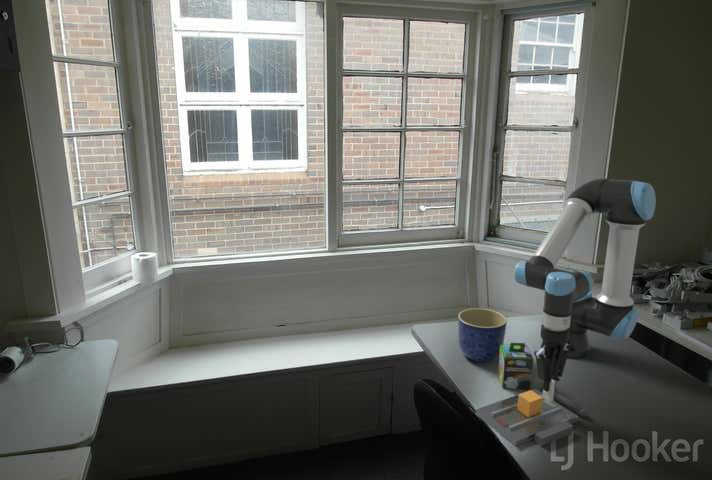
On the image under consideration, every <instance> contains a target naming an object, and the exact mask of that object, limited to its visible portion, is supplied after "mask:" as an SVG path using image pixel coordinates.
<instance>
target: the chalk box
mask: <svg viewBox="0 0 712 480" xmlns="http://www.w3.org/2000/svg"><path fill="white" fill-rule="evenodd" d="M498 358H499V359H498V372H497V373H498V377H499V380H500V384H501V387H502V389H511V390H513V389H514V390H515V389H516V390H527V391H530V390H532V388H531V387H532V379H533V365H534V359H535V358H534V356H533V354H532V352H531V350H530V348H529V346H528V345H527V344H526V343H525V342H510V343H509V344H503V345H500V354H499V356H498Z"/></svg>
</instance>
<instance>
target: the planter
mask: <svg viewBox="0 0 712 480" xmlns="http://www.w3.org/2000/svg"><path fill="white" fill-rule="evenodd" d="M457 318H458V319H457V321H458V322H457V323H458V324H457V325H458V345H459V349H460V350H461V353H462V354H463V355H464V356H465V357H466V358H468V359H469V360H472V361H474V362H480V363H481V362H482V363H483V362H484V363H486V362H490V361H493V360H495V359H496V358H499V355H500V345H504V342H505V335H506V330H507V329H506V328H507V324H508V319H507V317H506V316H505V315H503V314H502V313H500V312H498V311H495V310H492V309H487V308H482V307H481V308H478V307H476V308H468V309H467V308H466V309H464V310H461V311H460V312H459V313H458V317H457Z"/></svg>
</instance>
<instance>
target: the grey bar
mask: <svg viewBox="0 0 712 480" xmlns="http://www.w3.org/2000/svg"><path fill="white" fill-rule="evenodd" d="M573 430H574V425H573V424H572V423H571V424H570V423H568V422H567V421H565V422H563V423H560V424H558V425H555V426H553V427H550V428H548V429H546V430H543V431H541V432H538V433H536V434H535V439H533V440H534V443H536V445H539V447H544V446H546V445H549V444H552V443H553V442H555V441H558V440H560V439H562V438H565V437H567V436H569V435H572V434H573Z"/></svg>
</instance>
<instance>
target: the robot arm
mask: <svg viewBox="0 0 712 480" xmlns="http://www.w3.org/2000/svg"><path fill="white" fill-rule="evenodd" d="M656 200H657V199H656V192H655V189H654V187H653V186H652V185H651V183H648V182H645V181H644V182H642V181H638V180H626V179H625V180H624V179H612V178H605V177H604V178H603V177H602V178H596V179H591V180H589V181H587V182H585V183H584V184H581V185H580V186H579V187H577V188H576V189H575V190H574V191H572V192H571V193H570V194H569V195H568V197H566V199H565V200H564V202H563V210H562V211H561V212H560V214H559V215H558V216H557V219H556V220H555V222H554V223H553V225H552V226H551V228H550V229H549V230H548V232H547V234H546V235H545V237H544V238H543V239H542V241H541V243H539V244H540V245H538V247H537V249H536V251H535V252H534V254H533V255H532V256H531V258H530V260H529V261H527V260H520V261H519V262H517V264H515V268H514V271H513V277H514V280H515V282H516V283H517V284H520V285H523V286H526V287H528V288H529V287H530V288H533V289H536V290H541V291H543V292H544V299H543V308H542V314H541V326H540V327H541V328H540V338H541V340H542V343H541V345H540V349H539V350H535V351H534V352H533V355H534V357H535V363H536V371H537V378H538V379H540V380H541V381H542V388H543V392H542V393H543V395H542V398H544V399H545V400H547V401H549V402H551V401H553V400H554V399H553V397H554V391H555V389H556V384H557V382H560V380H561V379H560V378H559V377H562V376H563V373H564V371H565V370H564V369H565V366H566V363H567V359H568V358H571V359H581V358H582V359H583V358H586V357H588V356H589V355H590V352H591V345H590V341H589V337H588V336H589V335H588V331H591V332H594V333H597V334H601V335H604V336H607V337H609V338H614V339H616V340H621V341H622V340H626V339H628V338H629V336H631V334H632V333H633V331H634V329H635V327H636V325H637V323H638V320H639V316H640V311H639V309H637V308H636V307H634V300H633V298H631V296H630V295H631V288H632V280H633V274H634V267H635V259H636V254H637V249H638V248H637V247H638V240H639V234H640V229H641V228H642V227H644V226H645V225H646V223H647V221H648V220H651V219H652V218H653V217H654V214H655V210H656V205H657V204H656V203H657V201H656ZM596 213H597V214H598V213H599V214H603V215H604V214H605V222H606V223H607V224H608V225H609V231H608V238H607V247H606V253H605V261H604V268H603V269H604V270H603V277H602V284H601V285H602V286H601V292H599V293H597V294H596V296H595V297H593V293H592V291H593V289H594V285H595V281H594V278H593V276H592V275H591V274H590V273H589V272H587V271H585V270H583V269H582V270H574V271H570V270H569V271H568V270H564V269H560V268H556V266H557V265H558V263H559V262H560V260H561V258H562V256H563V255H564V253H565V251H566V250H567V249H568V247H569V246H570V244H571V243H572V241H573V239H574V238H575V237H576V235H577V234H578V232H579V230H580V228H581V227H582V225H583V224H584V222H585V220H588V219H591V217H592V215H594V214H596ZM542 388H541V389H542Z"/></svg>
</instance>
